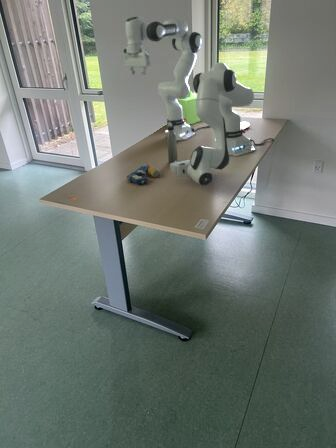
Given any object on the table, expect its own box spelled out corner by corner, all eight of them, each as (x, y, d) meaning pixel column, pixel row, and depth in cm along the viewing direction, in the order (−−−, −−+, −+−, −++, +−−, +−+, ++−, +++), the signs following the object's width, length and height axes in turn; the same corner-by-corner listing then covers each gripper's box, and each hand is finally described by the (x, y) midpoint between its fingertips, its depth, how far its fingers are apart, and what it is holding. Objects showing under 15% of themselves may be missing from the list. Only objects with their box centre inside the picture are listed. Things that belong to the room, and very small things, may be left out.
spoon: (243, 140, 236) (243, 137, 234) (228, 139, 239) (228, 137, 238) (251, 123, 262) (251, 121, 261) (237, 123, 266) (237, 120, 264)
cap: (175, 129, 193) (175, 126, 192) (169, 130, 192) (169, 127, 191) (172, 128, 196) (172, 125, 195) (166, 129, 195) (166, 126, 194)
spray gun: (164, 171, 194) (142, 169, 200) (163, 164, 191) (141, 162, 198) (147, 187, 178) (123, 184, 185) (146, 179, 176) (122, 177, 182)
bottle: (179, 163, 204) (177, 127, 192) (171, 165, 202) (168, 129, 190) (175, 160, 208) (172, 125, 197) (167, 162, 206) (164, 127, 195)
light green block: (191, 115, 302) (190, 88, 290) (208, 118, 288) (208, 90, 276) (170, 121, 289) (168, 93, 277) (187, 125, 275) (185, 95, 263)
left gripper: (151, 48, 193) (154, 74, 200) (128, 49, 206) (131, 73, 213) (143, 49, 189) (146, 76, 197) (120, 50, 202) (123, 74, 209)
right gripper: (211, 159, 174) (200, 151, 185) (174, 166, 169) (166, 158, 180) (211, 170, 177) (201, 162, 188) (175, 177, 172) (166, 169, 183)
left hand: (138, 74), depth 205 cm, fingers open, 8 cm apart
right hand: (183, 160), depth 184 cm, fingers open, 8 cm apart
